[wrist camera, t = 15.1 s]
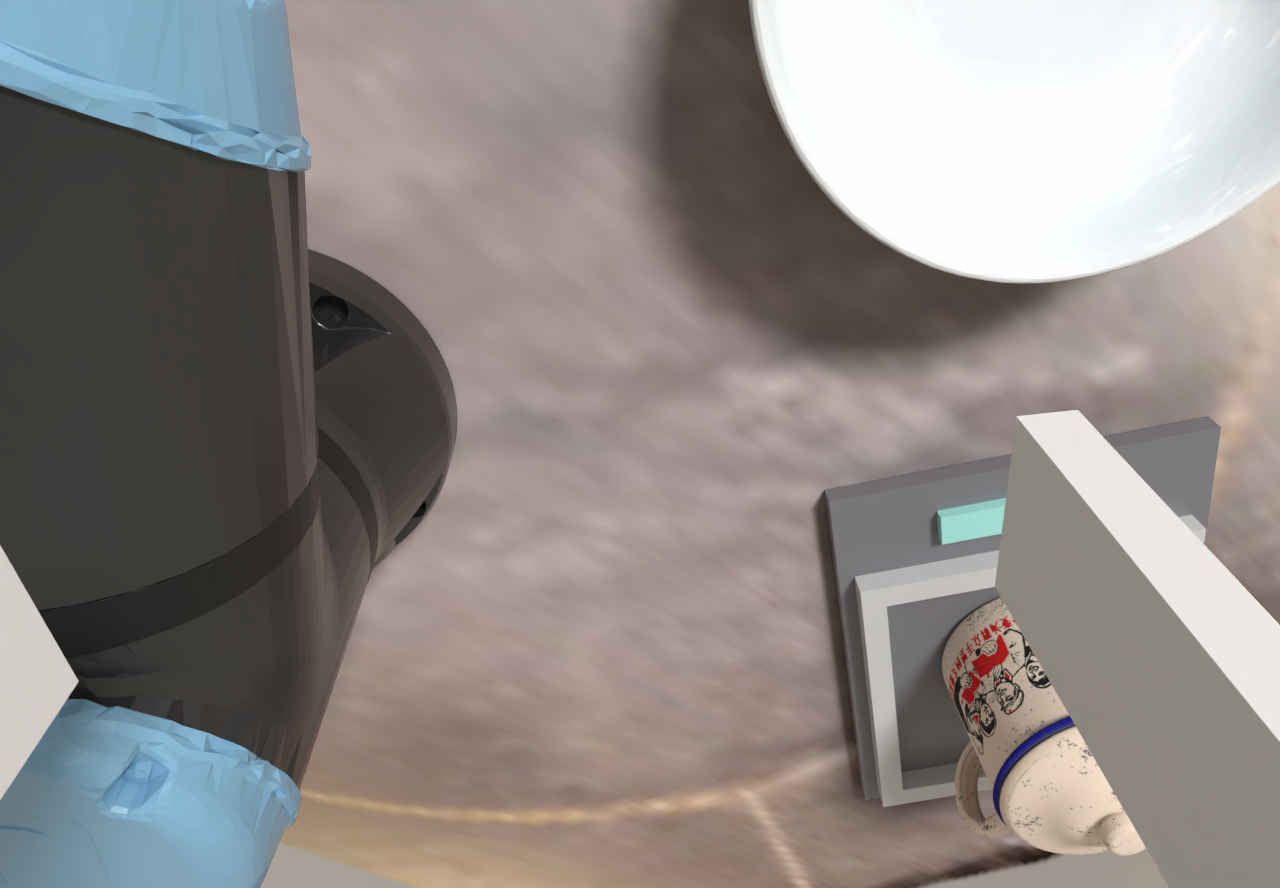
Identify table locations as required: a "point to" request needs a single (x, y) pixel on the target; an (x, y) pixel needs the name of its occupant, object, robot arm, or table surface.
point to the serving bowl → (1028, 123)
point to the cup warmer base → (951, 592)
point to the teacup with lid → (1026, 746)
